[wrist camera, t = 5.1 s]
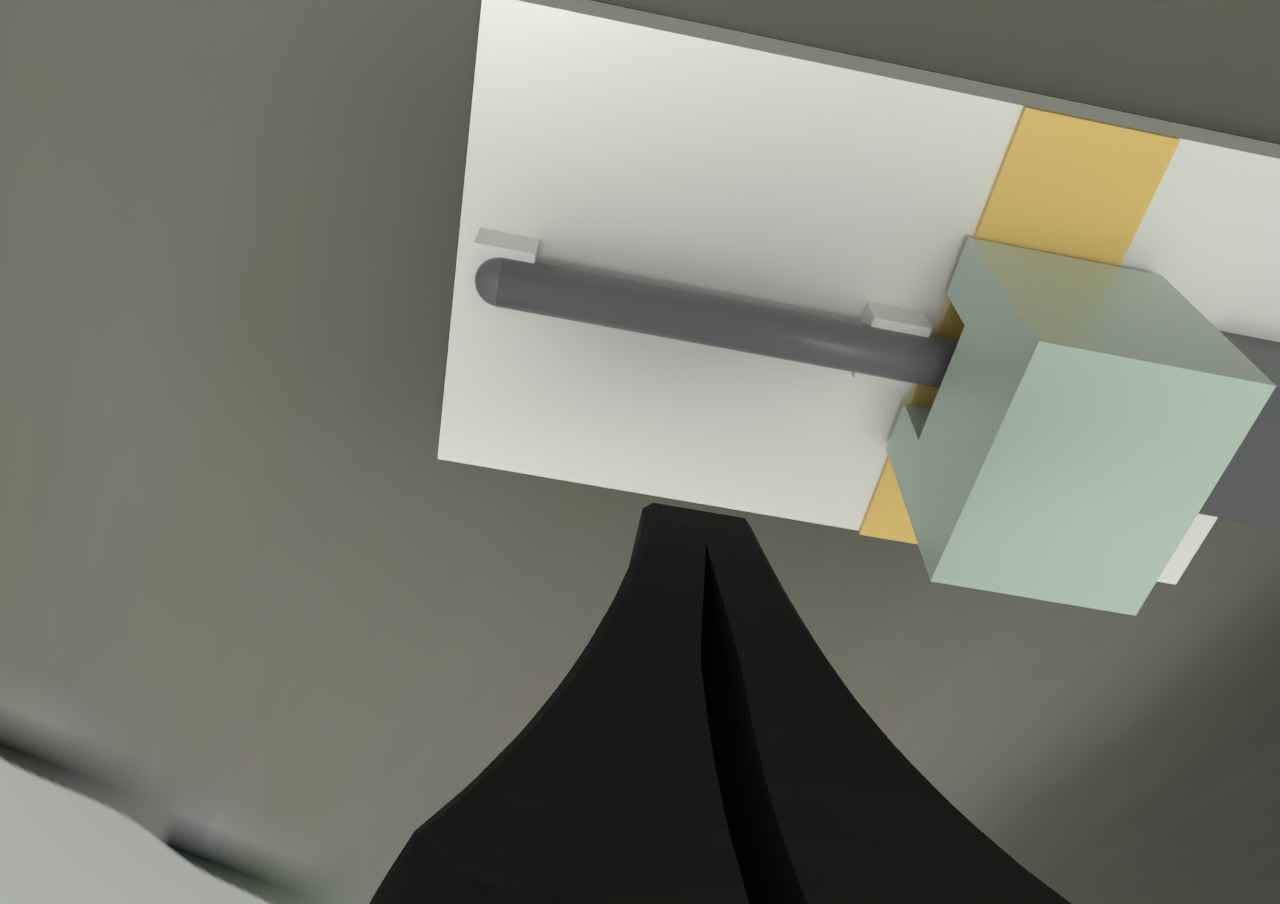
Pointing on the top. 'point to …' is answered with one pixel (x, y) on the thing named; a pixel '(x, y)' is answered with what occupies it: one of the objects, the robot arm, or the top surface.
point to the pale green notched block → (1070, 429)
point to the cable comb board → (795, 257)
